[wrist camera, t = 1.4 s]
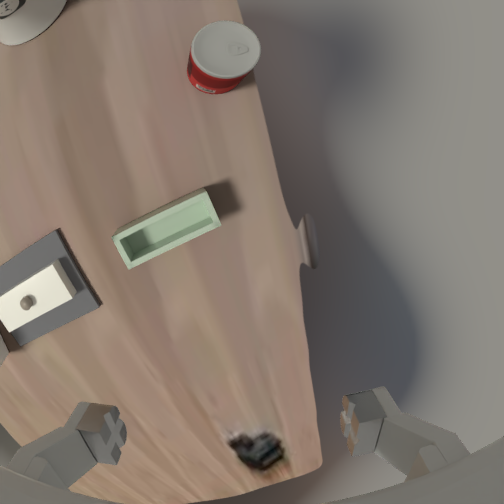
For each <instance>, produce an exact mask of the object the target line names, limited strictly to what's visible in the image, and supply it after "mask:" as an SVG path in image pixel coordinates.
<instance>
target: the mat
mask: <svg viewBox="0 0 504 504" xmlns="http://www.w3.org/2000/svg"><path fill="white" fill-rule="evenodd" d="M57 259H58V260H59V262H60V264H61V265H62V267H63V269H64V271H65V272H66V274H67V276H68V278H69V279H70V281H71V283H72V284H73V286H74V288H75V289H76V291H77V292H76V294H75V295H74V297H73V298H72V299H71V300H69V301H67V302H65V303H63V304H61V305H59V306H57V307H55V308H53V309H52V310H50V311H48V312H46V313H44V314H42V315H40V316H39V317H37V318H35V319H33V320H31V321H29V322H27V323H26V324H24V325H22V326H20V327H18V328H17V329H15V330H13V331H11V334H12V335H13V337H14V338H15V339H16V341H17V342H18V343H19V345H20V346H22V345H24V344H26V343H28V342H30V341H32V340H34V339H36V338H38V337H40V336H42V335H44V334H46V333H48V332H50V331H52V330H54V329H56V328H58V327H60V326H62V325H64V324H66V323H68V322H70V321H73V320H75V319H77V318H79V317H81V316H83V315H85V314H87V313H89V312H91V311H93V310H95V309H97V308H99V307H100V304H99V302H98V301H97V299H96V298H95V296H94V294H93V293H92V291H91V289H90V288H89V286H88V284H87V283H86V281H85V279H84V278H83V276H82V274H81V273H80V271H79V269H78V267H77V266H76V264H75V262H74V260H73V258H72V257H71V255H70V253H69V251H68V249H67V247H66V245H65V244H64V242H63V240H62V238H61V236H60V234H59V232H58V230H57V229H56V230H55V231H53V232H51V233H50V234H48V235H47V236H45V237H44V238H42V239H40V240H39V241H37V242H36V243H34V244H33V245H31V246H30V247H28V248H27V249H25V250H24V251H22V252H21V253H19V254H18V255H16V256H15V257H13V258H12V259H10V260H9V261H7V262H6V263H5V264H3V265H2V266H0V295H1V294H2V293H4V292H5V291H7V290H8V289H10V288H11V287H13V286H14V285H16V284H18V283H19V282H21V281H22V280H24V279H26V278H27V277H29V276H30V275H32V274H34V273H35V272H37V271H38V270H40V269H42V268H43V267H45V266H47V265H48V264H50V263H52V262H53V261H55V260H57Z"/></svg>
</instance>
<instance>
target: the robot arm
mask: <svg viewBox="0 0 504 504" xmlns="http://www.w3.org/2000/svg"><path fill="white" fill-rule="evenodd" d="M66 1H67V0H0V42H1V43H3V44H6V45H18V44H22V43H24V42H27V41H29V40H31V39H33V38H34V37H36V36H37V35H39V34H40V33H42V32H43V31H44V30H45V29H46V28H48V27H49V26H50V25H51V24H52V23H53V21H54V20H55V19H56V18H57V17H58V15H59V14H60V12H61V11H62V9H63V7H64V5H65V3H66ZM342 404H343V407H344V409H343V411H342V412H341V417H340V419H341V429H342V432H343V434H344V436H345V437H347V438H348V441H347V446H348V448H349V451H350V453H351V456H352V457H353V456H359V455H364V454H368V453H373V452H375V454H376V455H378V456H379V457H381V458H382V459H383V460H385V461H386V462H388V463H389V464H391V465H392V466H393V467H395V468H396V469H398V470H399V471H401V472H402V473H404V474H405V475H407V478H406V479H405V481H404V482H403V483H400V484H397V485H394V486H391V487H388V488H385V489H381V490H378V491H374V492H370V493H367V494H363V495H359V496H355V497H351V498H346V499H342V500H337V501H332V502H327V503H321V504H504V436H503V437H501V438H500V439H498V440H497V441H495V442H493V443H491V444H489V445H487V446H486V447H484V448H482V449H480V450H478V451H476V452H474V453H472V454H470V453H469V451H468V450H467V449H466V447H465V446H464V444H463V443H462V442H461V440H460V439H459V438H458V436H457V435H456V434H455V433H453V432H450V431H448V430H445V429H443V428H440V427H438V426H435V425H433V424H431V423H428V422H426V421H423V420H421V419H419V418H417V417H414V416H412V415H410V414H408V413H401V411H400V410H399V408H398V407H397V405H396V404H395V402H394V400H393V399H392V397H391V396H390V394H389V393H388V391H387V390H386V388H385V387H380V388H375V389H371V390H367V391H362V392H358V393H353V394H348V395H344V397H343V402H342ZM119 415H120V412H119V410H118V408H117V407H116V406H112V405H104V404H97V403H88V402H80V403H78V405H77V406H76V408H75V410H74V411H73V413H72V414H71V416H70V418H69V419H68V421H67V423H66V424H65V426H64V427H59V428H57V429H55V430H54V431H52V432H50V433H48V434H46V435H44V436H42V437H40V438H39V439H37V440H35V441H33V442H31V443H29V444H27V445H25V446H23V447H21V448H19V449H18V450H17V452H16V453H15V455H14V456H13V458H12V459H11V461H10V463H9V464H8V466H7V467H6V468H5V467H3V466H1V465H0V504H122V503H117V502H112V501H107V500H102V499H98V498H94V497H89V496H86V495H82V494H78V493H74V492H71V491H70V490H69V489H68V487H70V486H71V485H72V484H73V483H74V482H76V481H77V480H78V479H79V478H81V477H82V476H83V475H84V474H85V473H87V472H88V471H89V470H90V469H91V468H92V467H94V466H95V465H96V464H97V462H99V463H105V464H112V465H117V464H118V461H119V458H120V455H121V451H120V449H119V448H120V447H122V446H123V445H125V442H126V437H127V431H126V426H125V424H124V422H123V421H122V420H121V419H120V418H118V417H119Z"/></svg>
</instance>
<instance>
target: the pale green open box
mask: <svg viewBox="0 0 504 504" xmlns="http://www.w3.org/2000/svg"><path fill="white" fill-rule="evenodd" d="M219 226H221V223H220V221H219V219H218V216H217V214H216V212H215V209H214V207H213V205H212V203H211V200H210V198H209V196H208V193H207V191H206V190H205V189H204V188H200V189H198V190H196V191H194V192H192V193H189V194H187V195H185V196H183V197H181V198H179V199H177V200H174V201H172V202H170V203H168V204H166V205H164V206H162V207H160V208H158V209H156V210H154V211H152V212H150V213H148V214H146V215H144V216H142V217H140V218H138V219H136V220H134V221H132V222H130V223H128V224H126V225H124V226H122V227H120V228H118V229H117V230H116V232H115V233H114V235H113V236H112V237H111V238H112V240H113V242H114V243H115V245H116V247H117V249H118V251H119V253H120V255H121V257H122V258H123V260H124V262H125V264H126V266H127V267H128V269H131V268H133V267H135V266H137V265H139V264H141V263H143V262H145V261H147V260H149V259H151V258H153V257H155V256H157V255H160V254H162V253H164V252H166V251H168V250H170V249H172V248H174V247H176V246H178V245H180V244H183V243H185V242H187V241H189V240H191V239H193V238H195V237H197V236H200V235H202V234H204V233H206V232H208V231H210V230H212V229H215V228H217V227H219Z"/></svg>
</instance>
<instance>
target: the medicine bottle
mask: <svg viewBox="0 0 504 504" xmlns="http://www.w3.org/2000/svg"><path fill="white" fill-rule="evenodd" d="M8 353H9V351H8V349H7V347H6V345H5V343H4V341H3V338H2V336H1V334H0V366H1V365H2V363H3V361H4V360H5V358H6V357H7V355H8Z"/></svg>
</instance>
